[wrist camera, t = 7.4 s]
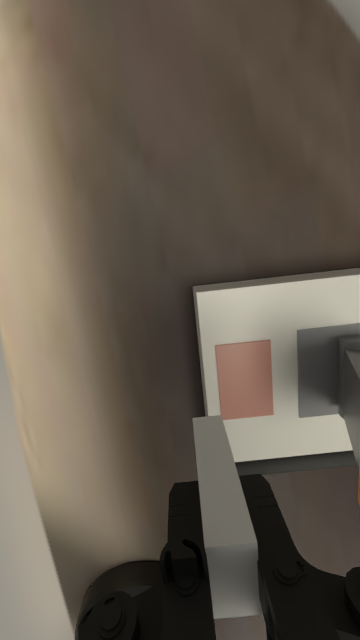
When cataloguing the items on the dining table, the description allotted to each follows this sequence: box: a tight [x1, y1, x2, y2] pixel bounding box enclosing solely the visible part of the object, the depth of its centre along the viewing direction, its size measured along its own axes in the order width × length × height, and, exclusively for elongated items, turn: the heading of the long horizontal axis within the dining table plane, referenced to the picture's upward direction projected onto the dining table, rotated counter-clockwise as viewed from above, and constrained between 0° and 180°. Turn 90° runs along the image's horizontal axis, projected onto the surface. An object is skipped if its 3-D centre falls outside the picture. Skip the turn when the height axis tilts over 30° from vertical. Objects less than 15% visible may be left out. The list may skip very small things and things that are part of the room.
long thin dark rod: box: [235, 450, 357, 476], centre depth 27 cm, size 18×3×2 cm, turn 96°
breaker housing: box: [192, 268, 360, 462], centre depth 23 cm, size 22×14×5 cm, turn 96°
